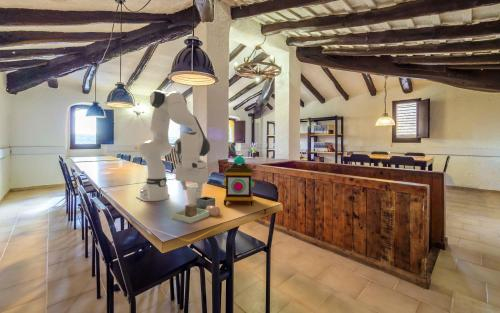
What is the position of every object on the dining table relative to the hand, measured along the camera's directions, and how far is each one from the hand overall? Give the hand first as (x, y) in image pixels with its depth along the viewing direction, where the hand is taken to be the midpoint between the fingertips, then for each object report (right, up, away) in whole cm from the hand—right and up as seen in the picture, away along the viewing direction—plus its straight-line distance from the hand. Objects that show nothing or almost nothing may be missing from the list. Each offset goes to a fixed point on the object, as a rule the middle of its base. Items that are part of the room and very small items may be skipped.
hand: (191, 190), depth 120 cm
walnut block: (-1, -14, +1) cm, 14 cm away
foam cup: (-3, -13, +21) cm, 25 cm away
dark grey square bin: (+5, -13, +13) cm, 19 cm away
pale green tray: (-1, -14, +1) cm, 14 cm away
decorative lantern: (+23, -12, +31) cm, 40 cm away
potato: (+10, -14, +6) cm, 18 cm away
